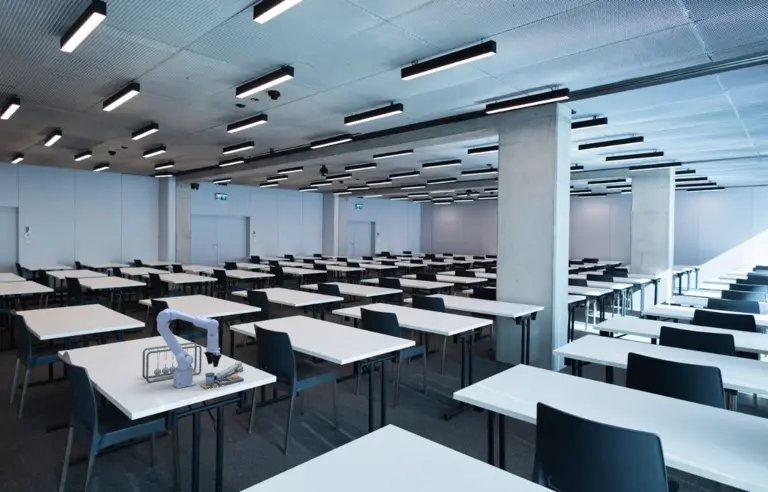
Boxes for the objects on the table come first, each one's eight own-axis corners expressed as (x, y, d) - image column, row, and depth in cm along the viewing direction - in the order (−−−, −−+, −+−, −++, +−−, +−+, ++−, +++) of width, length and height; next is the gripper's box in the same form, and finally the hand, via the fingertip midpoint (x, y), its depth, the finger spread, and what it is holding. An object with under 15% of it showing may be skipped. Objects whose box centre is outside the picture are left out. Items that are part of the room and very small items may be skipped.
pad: (205, 389, 242) (205, 387, 242) (200, 386, 246) (200, 384, 246) (218, 386, 246) (218, 384, 246) (212, 383, 251) (212, 381, 251)
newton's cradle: (146, 383, 249) (146, 352, 249) (142, 379, 257) (142, 348, 257) (201, 374, 268) (201, 344, 268) (196, 370, 276) (196, 341, 276)
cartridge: (207, 386, 243) (207, 375, 243) (203, 384, 247) (203, 373, 247) (215, 384, 247) (216, 373, 247) (212, 382, 250) (212, 371, 250)
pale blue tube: (210, 375, 255) (237, 358, 279) (211, 386, 256) (238, 368, 280) (218, 376, 253) (244, 359, 277) (219, 387, 254) (245, 369, 278)
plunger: (233, 381, 255) (233, 375, 255) (231, 380, 257) (231, 374, 257) (238, 380, 257) (238, 374, 257) (236, 379, 259) (236, 373, 259)
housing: (220, 386, 247) (220, 383, 247) (214, 382, 252) (214, 380, 252) (243, 381, 257) (243, 378, 257) (237, 377, 262) (237, 375, 262)
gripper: (225, 342, 249) (225, 366, 249) (214, 338, 259) (214, 361, 260) (212, 344, 244) (212, 369, 244) (202, 340, 255) (202, 363, 255)
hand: (212, 365), depth 252 cm, fingers open, 7 cm apart
